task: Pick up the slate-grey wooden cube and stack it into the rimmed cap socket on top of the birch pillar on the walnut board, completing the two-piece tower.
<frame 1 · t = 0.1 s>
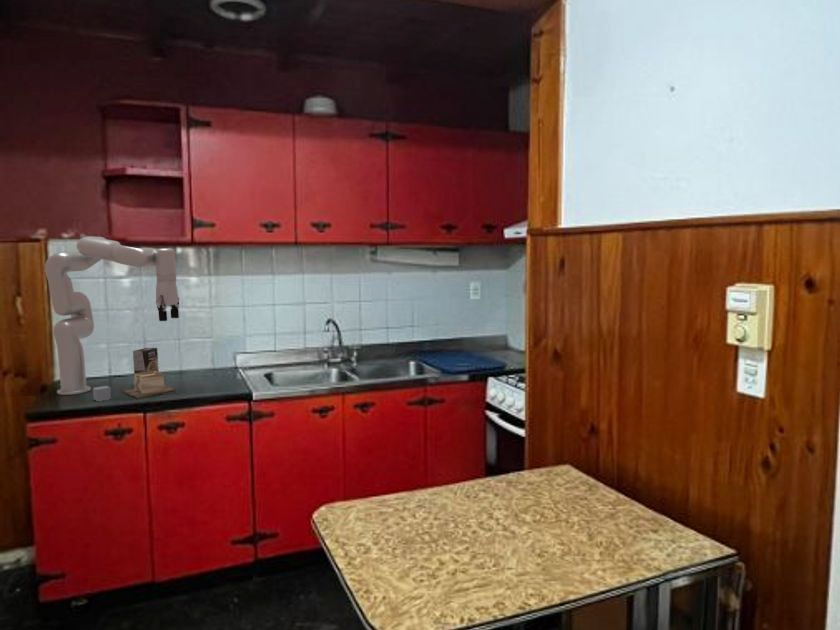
hand: (169, 319, 252), 31 cm above the table, tool pointing down, fingers open, 9 cm apart
coffee box: (147, 385, 271), on the table
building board: (149, 392, 256), on the table
grey cube: (102, 399, 245), on the table
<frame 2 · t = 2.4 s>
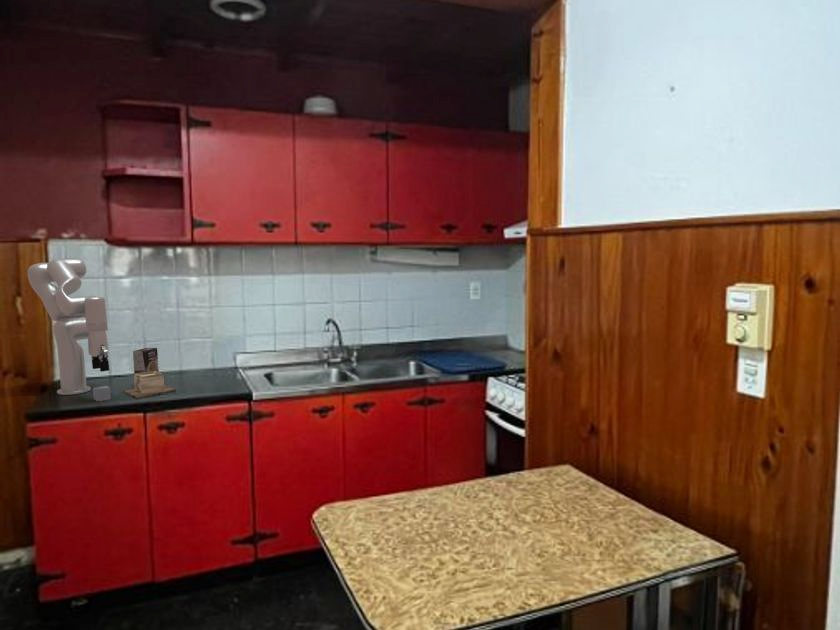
hand: (100, 369, 244), 12 cm above the table, tool pointing down, fingers open, 9 cm apart
nothing on the table moved.
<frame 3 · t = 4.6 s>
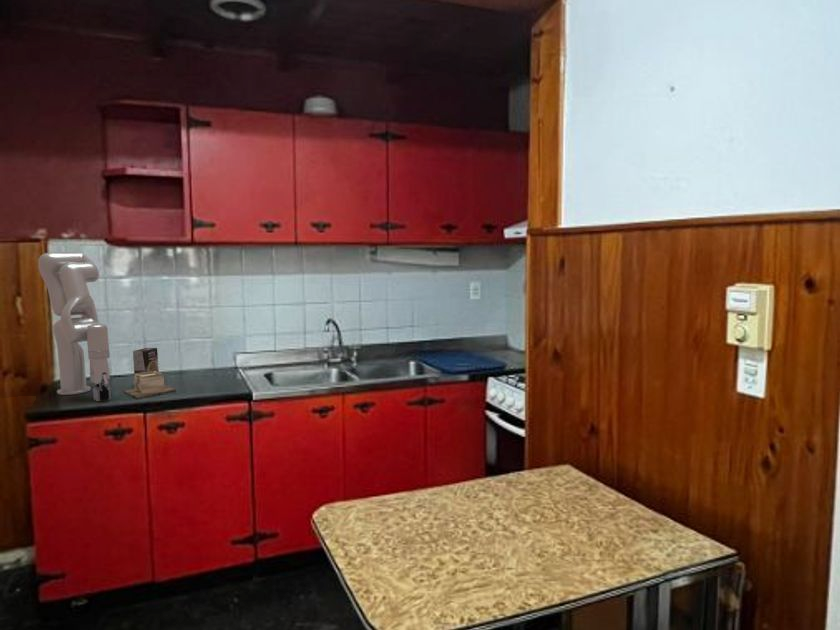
hand: (102, 398, 245), 0 cm above the table, tool pointing down, fingers closed on grey cube, 5 cm apart
grey cube: (102, 399, 245), on the table, touching gripper
everything else where it was.
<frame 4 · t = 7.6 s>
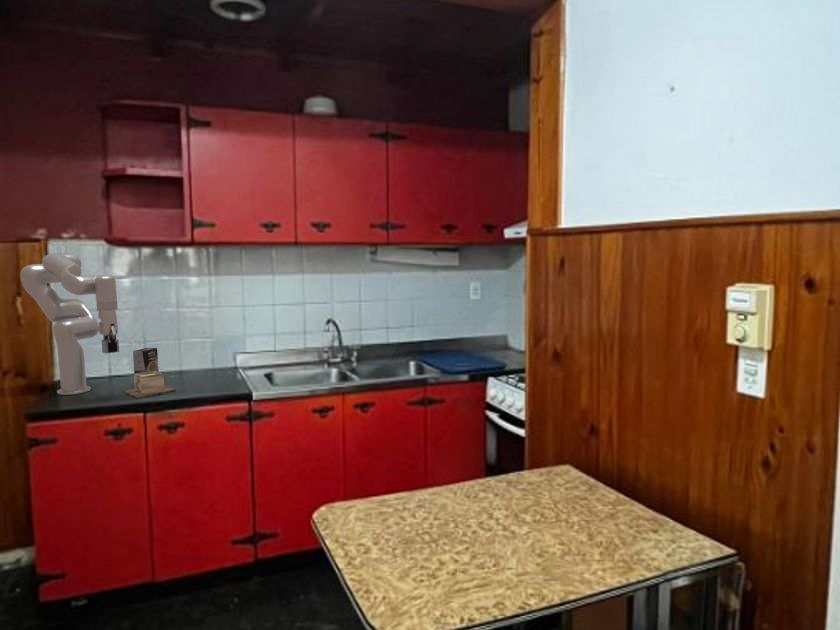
hand: (110, 350, 246), 20 cm above the table, tool pointing down, fingers closed on grey cube, 5 cm apart
grey cube: (110, 352, 246), point 19 cm above the table, touching gripper
everything else where it was.
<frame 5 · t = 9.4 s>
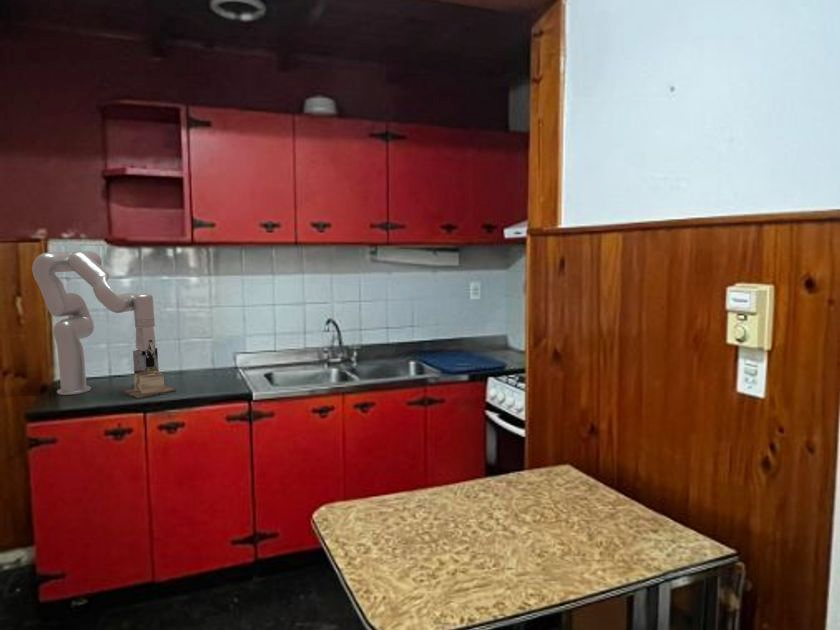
hand: (147, 365, 255), 12 cm above the table, tool pointing down, fingers closed on grey cube, 5 cm apart
grey cube: (147, 366, 255), point 11 cm above the table, touching gripper
everything else where it was.
when the fingers open (9 cm above the table, at t = 10.7 s): grey cube drops 1 cm, resting on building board.
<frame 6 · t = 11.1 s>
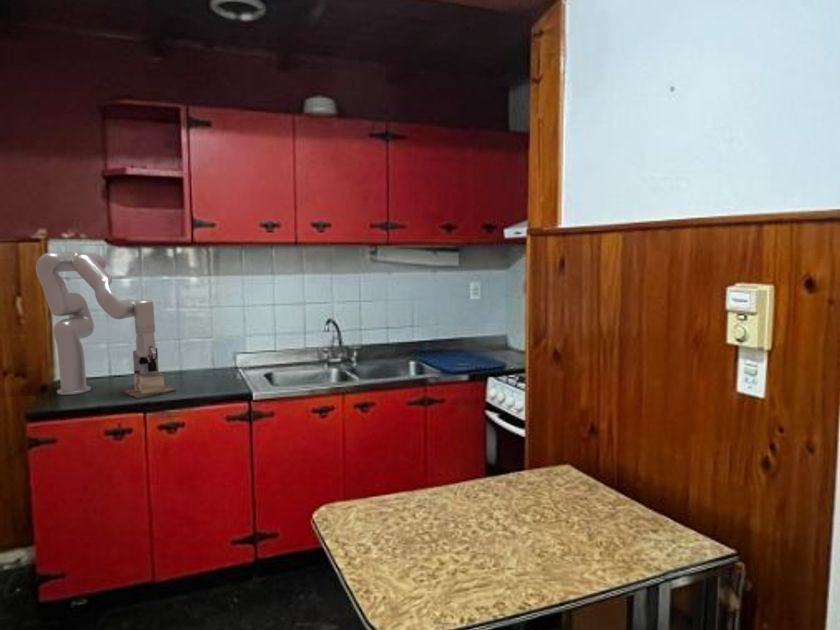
hand: (148, 369, 255), 10 cm above the table, tool pointing down, fingers open, 9 cm apart
grey cube: (148, 376, 256), point 7 cm above the table, touching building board
everything else where it was.
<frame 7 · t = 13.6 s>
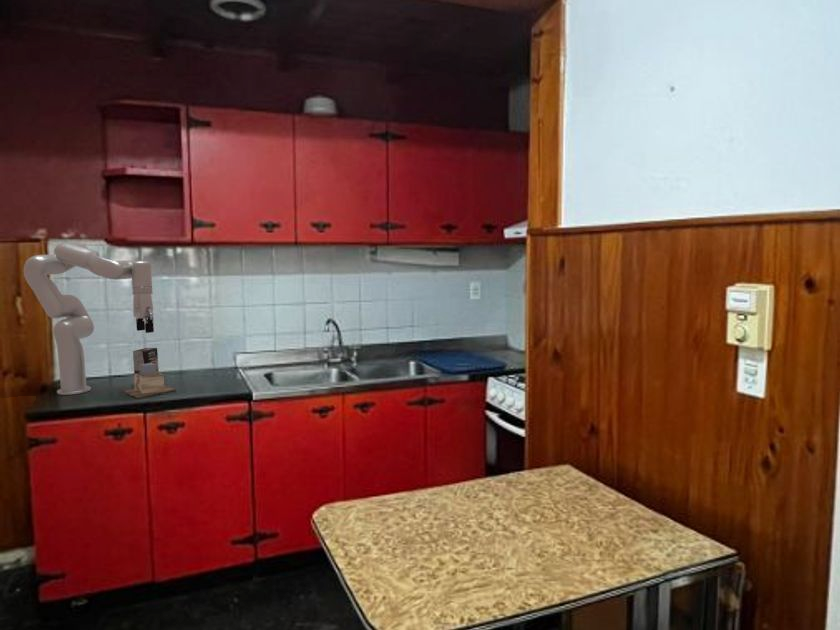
hand: (145, 331, 253), 26 cm above the table, tool pointing down, fingers open, 9 cm apart
nothing on the table moved.
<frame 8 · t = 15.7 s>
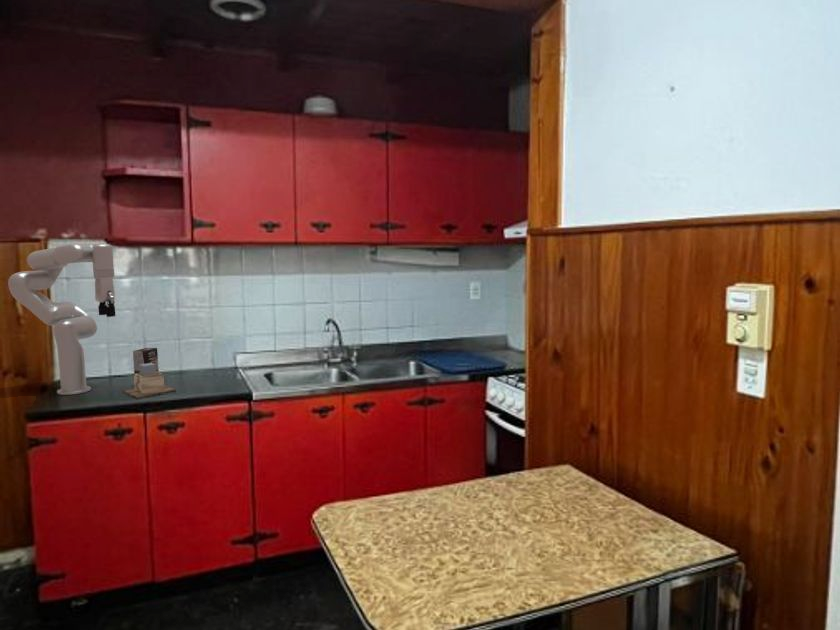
hand: (107, 315, 250), 33 cm above the table, tool pointing down, fingers open, 9 cm apart
nothing on the table moved.
at the end: grey cube 0.1 cm off-centre on the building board, point 7.0 cm above the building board's base; grey cube tilted 0°; the gripper is holding nothing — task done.
